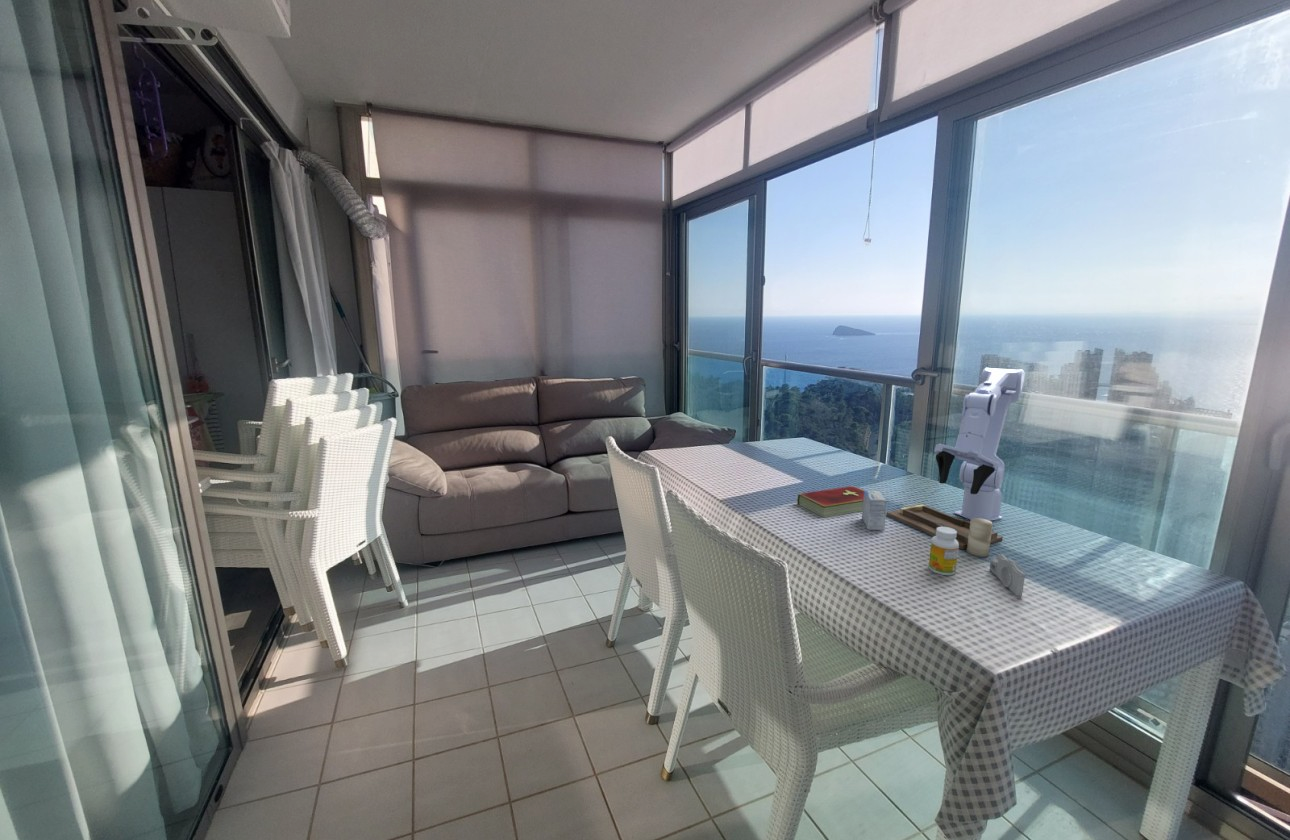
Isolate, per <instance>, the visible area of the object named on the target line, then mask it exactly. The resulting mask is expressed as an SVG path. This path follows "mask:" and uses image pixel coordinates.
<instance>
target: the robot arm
mask: <svg viewBox="0 0 1290 840" xmlns="http://www.w3.org/2000/svg"><path fill="white" fill-rule="evenodd" d="M1025 378H1026V373H1025V371H1024V369H1023V368H1022V369H1020V368H1019V369H1013V368H1012V369H1011V368H992V367H985V368H984V369H982V372H981V375H980V381H979V383H980V384H979V385H978V386H977V387H976V389H974V391H973V392H970V393H969V394H965V396H964V398H963V401H962V410H961V411H962V412H961V422H960V423H961V424H960V426H959V429H958V435H957V439H956V442H955V446H950V445H946V444H943V443H938V444H935V447H934V450H933V451H934V453H937V454H935V460H936V463H937V468H938V474H939V475H938V476H939V477H938V479H939V482H938V483H939V484H941V485H943V484H946V483H947V481H948V478H949V474H950V469H951V468H952V464H953V463H954V460H955V459H958V460H960V461H963V462H962V464H961V465H960V469H959V474H958V478H959V481H960V482H961V483H962V484H963V487H964V490H963V499H962V505H961V506H962V507H961V510H957V511H953V514H955V515H958V516H960V517H962V518H965V519H968V520H970V521H971V519H972V518H981V519H986V520H989V521H991V522H993V521H996V520H1001V519H1003V516H1001V515H1000V514H1001V507H1002V501H1003V495H1002V492H1001V490H1000V488H1002V485H1003V482H1004V477H1005V471H1006V470H1005V463H1004V461H1003V460H1002V459H1001V458H999V456H998V455H997V453H998V450H999V444H1000V441H1001V437H1002V433H1003V429H1004V425H1005V421H1006V417H1007V413H1008V411H1009V409H1010V408H1011V405H1012V404H1014V403H1016V402H1019V400H1020V398H1021V397H1022V392H1023V388H1024V384H1025Z"/></svg>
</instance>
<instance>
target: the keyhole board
mask: <svg viewBox="0 0 1290 840" xmlns="http://www.w3.org/2000/svg"><path fill="white" fill-rule="evenodd" d="M886 516H887V517H889V518H892V519H893V520H896V521H899V522H901V523H903V524H905V525H908V526H909V527H911V528H913V529H914V528H915V529H916V530H918V531H921V532H923V533H924V534H928V535H930V536H931V537H934V536H937V535H936V528H937V527H949V528H952V529H954V530H956V531H957V536H956V538H955V539H956V540H957V541H958V543H959V550H960V549H961V550H965V549H966V550H967V545H968V537H969V529H970V521H969V520H966V519H961V518H958V517H955V516H953V515H951V514H948V513H945V512H943V511H940V510H938V509H936V508H933V507H931V506H928V505H925V504H923V503H922V504H916V505H911V506H906V507H905V506H904V507H900V508H899V509H896V510H891V511H886ZM1002 541H1003V536H1000V535H998V532H997V531H994V530H992V533H991V541H990V544H994V543H998V542H1002Z"/></svg>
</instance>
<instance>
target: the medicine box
mask: <svg viewBox="0 0 1290 840" xmlns="http://www.w3.org/2000/svg"><path fill="white" fill-rule="evenodd" d="M887 502H888V500H886V498H885V497H884V495H883V493H881V491H879V490H865V491H864V496H863V509H862V511H861V514H862V515H861V520H862V521H863V523H864V525H865V527H866V528H867V530H871V531H885V530H886V516H887V504H888V503H887Z"/></svg>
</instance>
